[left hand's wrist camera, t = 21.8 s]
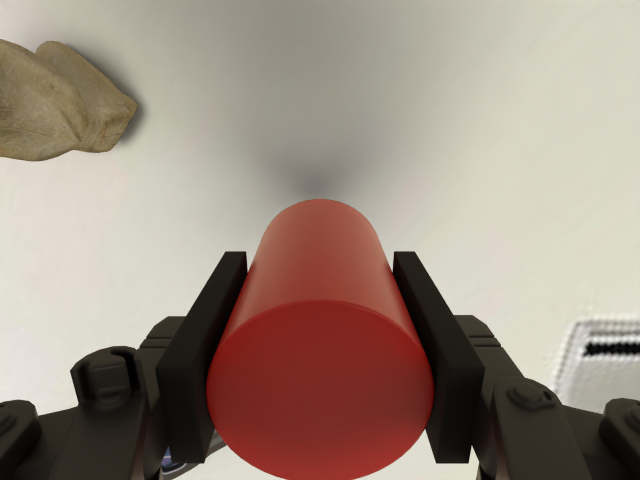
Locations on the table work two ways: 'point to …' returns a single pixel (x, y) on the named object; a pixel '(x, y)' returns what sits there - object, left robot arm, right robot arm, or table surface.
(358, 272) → the can
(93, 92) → the sculpture
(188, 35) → the table surface
